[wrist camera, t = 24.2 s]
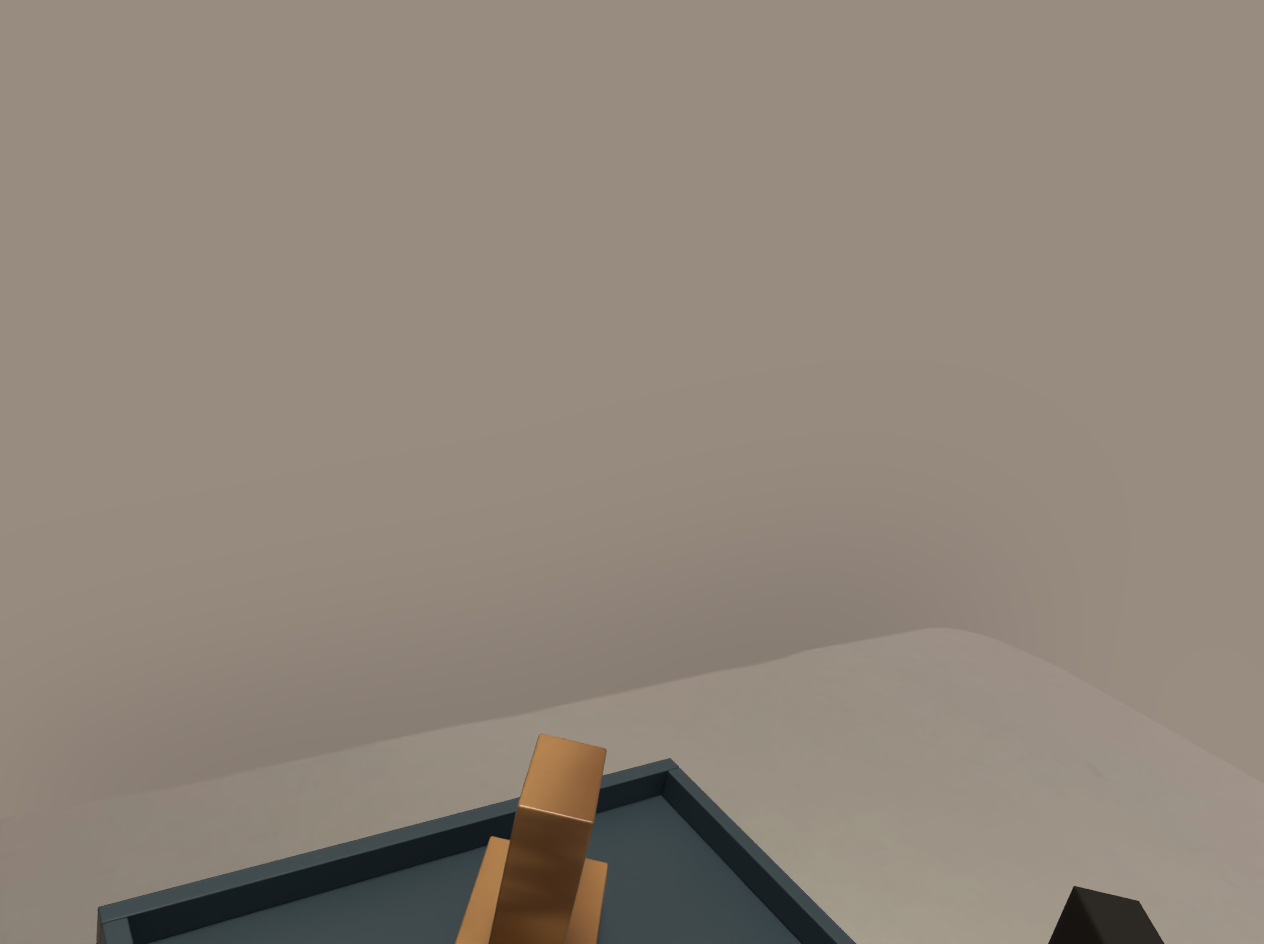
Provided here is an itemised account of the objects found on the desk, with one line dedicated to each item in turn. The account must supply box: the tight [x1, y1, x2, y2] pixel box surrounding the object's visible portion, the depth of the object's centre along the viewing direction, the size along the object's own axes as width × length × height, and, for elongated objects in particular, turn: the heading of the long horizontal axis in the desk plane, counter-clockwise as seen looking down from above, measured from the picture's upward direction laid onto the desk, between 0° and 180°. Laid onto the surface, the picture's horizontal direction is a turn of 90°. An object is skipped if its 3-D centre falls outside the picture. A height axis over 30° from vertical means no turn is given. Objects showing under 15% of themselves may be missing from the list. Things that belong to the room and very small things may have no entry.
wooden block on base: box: [455, 734, 608, 944], centre depth 32 cm, size 5×12×10 cm, turn 176°
